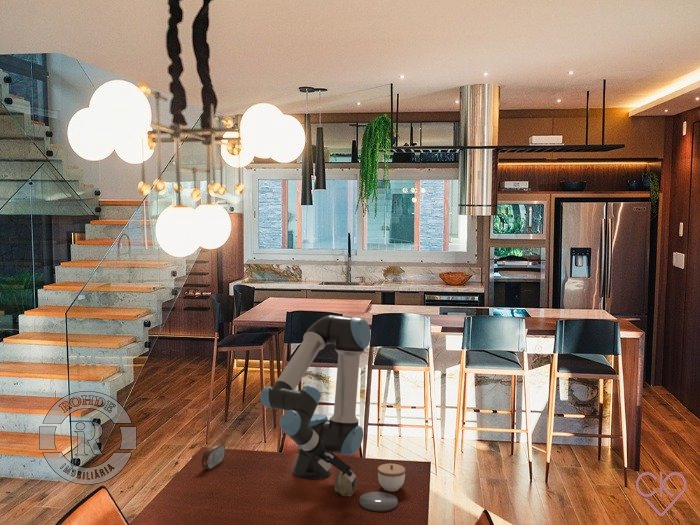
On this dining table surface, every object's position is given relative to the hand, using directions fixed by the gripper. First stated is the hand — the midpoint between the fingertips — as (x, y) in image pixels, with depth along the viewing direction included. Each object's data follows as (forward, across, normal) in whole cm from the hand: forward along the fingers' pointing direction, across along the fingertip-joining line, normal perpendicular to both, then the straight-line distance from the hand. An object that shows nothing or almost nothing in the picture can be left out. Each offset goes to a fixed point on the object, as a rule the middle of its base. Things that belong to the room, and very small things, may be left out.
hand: (341, 473), depth 244 cm
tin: (-8, -56, -21) cm, 60 cm away
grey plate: (+11, +14, -2) cm, 17 cm away
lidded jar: (+20, +7, +8) cm, 23 cm away
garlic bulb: (+9, 0, -4) cm, 9 cm away
